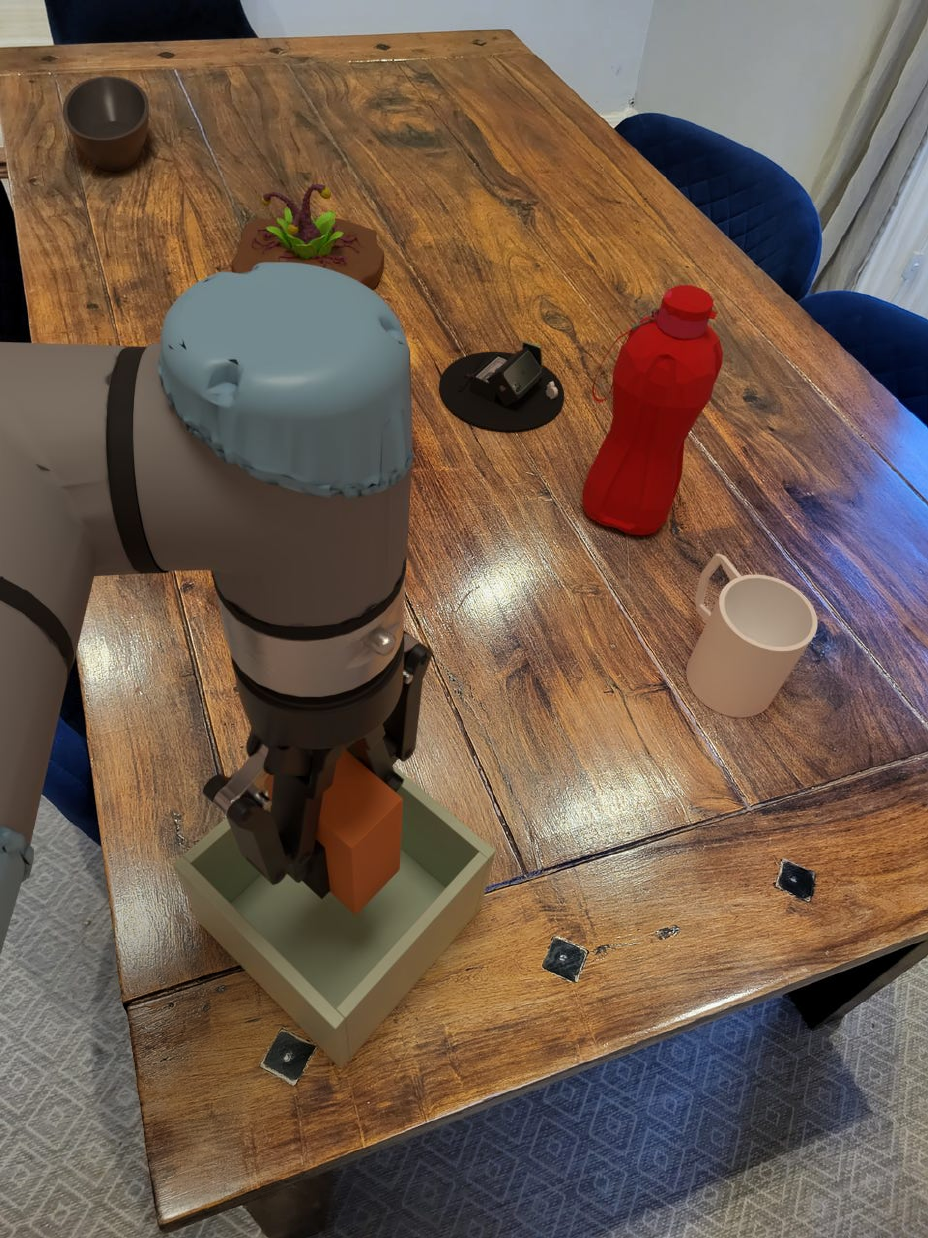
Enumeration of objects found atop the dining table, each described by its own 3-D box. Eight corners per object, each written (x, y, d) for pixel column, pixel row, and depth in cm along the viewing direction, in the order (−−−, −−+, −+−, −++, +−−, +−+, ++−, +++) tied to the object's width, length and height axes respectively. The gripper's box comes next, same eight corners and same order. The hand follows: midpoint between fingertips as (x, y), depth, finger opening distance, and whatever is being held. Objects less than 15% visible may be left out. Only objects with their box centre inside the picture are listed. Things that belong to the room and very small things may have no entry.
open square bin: (341, 1070, 58) (335, 1029, 50) (198, 922, 63) (171, 864, 55) (481, 908, 66) (496, 850, 57) (343, 788, 71) (339, 719, 63)
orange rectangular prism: (355, 916, 54) (351, 849, 46) (278, 843, 56) (261, 768, 48) (400, 869, 56) (403, 798, 48) (323, 801, 58) (314, 723, 51)
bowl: (70, 185, 127) (57, 140, 122) (78, 119, 140) (67, 76, 135) (157, 183, 129) (148, 139, 124) (157, 118, 142) (149, 76, 137)
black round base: (524, 449, 98) (530, 410, 94) (414, 397, 103) (416, 357, 98) (585, 385, 107) (594, 346, 102) (481, 339, 111) (485, 300, 107)
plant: (377, 315, 112) (376, 231, 104) (223, 303, 112) (210, 217, 103) (388, 235, 125) (389, 154, 116) (250, 224, 124) (241, 141, 115)
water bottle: (582, 462, 98) (632, 250, 78) (676, 493, 96) (753, 283, 76) (555, 514, 92) (603, 300, 73) (655, 549, 90) (732, 338, 71)
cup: (718, 605, 86) (752, 534, 78) (792, 700, 80) (838, 634, 72) (647, 628, 84) (675, 558, 76) (719, 729, 77) (757, 663, 69)
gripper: (217, 823, 32) (277, 1001, 50) (508, 571, 41) (468, 801, 59) (93, 703, 35) (192, 914, 53) (390, 492, 43) (387, 735, 62)
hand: (338, 854), depth 56 cm, fingers closed on orange rectangular prism, 4 cm apart
